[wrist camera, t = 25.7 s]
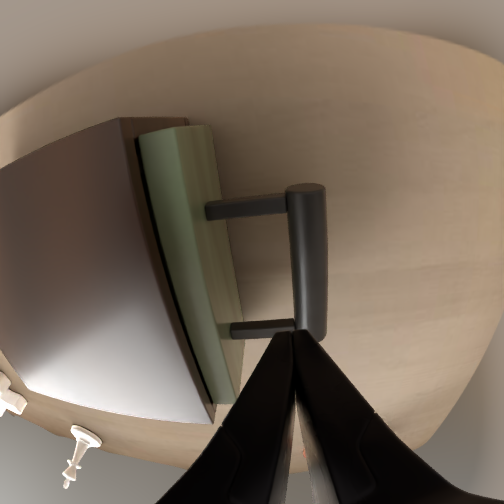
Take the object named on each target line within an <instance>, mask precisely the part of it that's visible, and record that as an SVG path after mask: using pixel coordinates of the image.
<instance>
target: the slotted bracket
mask: <svg viewBox="0 0 504 504" xmlns="http://www.w3.org/2000/svg"><path fill="white" fill-rule="evenodd" d="M10 385H11V382H10V380H9V379H8V378H7V377H6V375H5V374H4V373H2V372H1V371H0V417H1V416H2V415H3V413H4V411H5V410H6V408H7V409H9V410H11V411H13V412H16V413H18V414H21V413H22V411H23V409H24V408H25V406H26V404H27V401H26V400H25V399H24V398H23V396H22V395H20V394H17V393H15V392H13V391H11V390H10V389H8V388H9V386H10Z"/></svg>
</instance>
